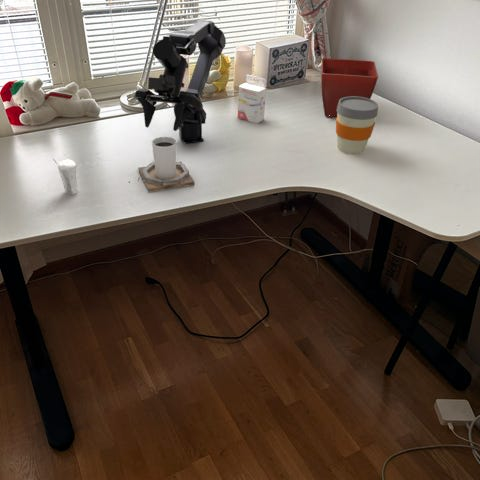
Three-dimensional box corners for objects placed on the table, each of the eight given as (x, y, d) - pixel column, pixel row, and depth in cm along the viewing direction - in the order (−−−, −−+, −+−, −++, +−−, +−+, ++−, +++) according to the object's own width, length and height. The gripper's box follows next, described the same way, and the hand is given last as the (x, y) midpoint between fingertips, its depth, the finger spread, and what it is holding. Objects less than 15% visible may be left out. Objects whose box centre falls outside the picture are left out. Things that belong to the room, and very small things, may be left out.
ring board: (181, 164, 156) (181, 157, 155) (194, 184, 146) (194, 177, 145) (138, 170, 152) (137, 163, 151) (148, 192, 142) (148, 184, 141)
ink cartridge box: (236, 118, 186) (238, 77, 178) (244, 114, 190) (245, 73, 181) (257, 124, 183) (259, 82, 174) (264, 119, 186) (267, 78, 178)
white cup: (163, 182, 145) (161, 149, 139) (149, 173, 148) (146, 141, 143) (182, 174, 149) (181, 142, 143) (167, 166, 152) (166, 134, 147)
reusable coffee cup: (378, 148, 169) (386, 103, 160) (356, 160, 162) (365, 114, 153) (345, 136, 176) (352, 93, 167) (323, 147, 168) (329, 102, 160)
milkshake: (61, 188, 142) (54, 154, 137) (81, 187, 143) (75, 154, 137) (58, 196, 139) (51, 162, 133) (78, 196, 139) (72, 162, 133)
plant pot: (316, 101, 203) (322, 57, 193) (366, 105, 201) (374, 60, 191) (315, 120, 187) (321, 73, 177) (369, 124, 185) (378, 77, 176)
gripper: (130, 60, 144) (116, 115, 143) (189, 64, 137) (175, 121, 136) (151, 78, 154) (138, 129, 153) (207, 83, 147) (194, 136, 146)
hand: (160, 128), depth 147 cm, fingers open, 9 cm apart
